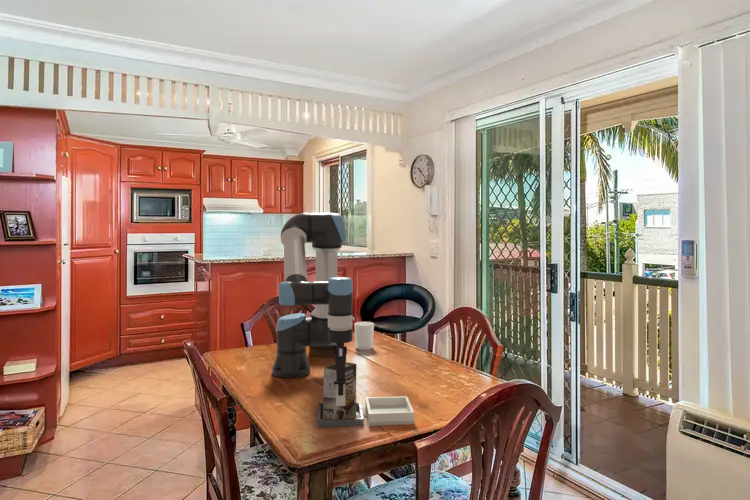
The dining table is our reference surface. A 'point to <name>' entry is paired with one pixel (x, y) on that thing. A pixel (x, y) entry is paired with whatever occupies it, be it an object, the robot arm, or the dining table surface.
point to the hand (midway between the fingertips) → (340, 397)
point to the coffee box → (330, 393)
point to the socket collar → (340, 421)
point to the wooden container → (322, 350)
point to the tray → (389, 410)
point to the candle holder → (364, 335)
